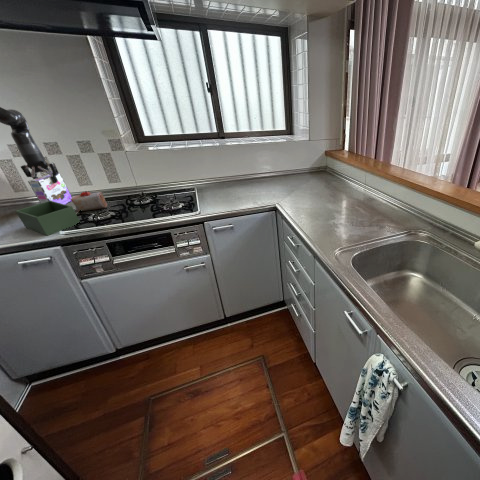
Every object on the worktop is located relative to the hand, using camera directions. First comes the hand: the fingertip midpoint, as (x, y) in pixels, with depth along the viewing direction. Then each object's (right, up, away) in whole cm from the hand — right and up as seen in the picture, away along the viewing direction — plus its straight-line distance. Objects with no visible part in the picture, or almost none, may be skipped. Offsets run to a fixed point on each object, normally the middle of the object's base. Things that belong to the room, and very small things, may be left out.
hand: (47, 183), depth 146 cm
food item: (+24, -14, +1) cm, 28 cm away
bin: (+20, -24, -16) cm, 35 cm away
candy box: (0, -11, +7) cm, 13 cm away
